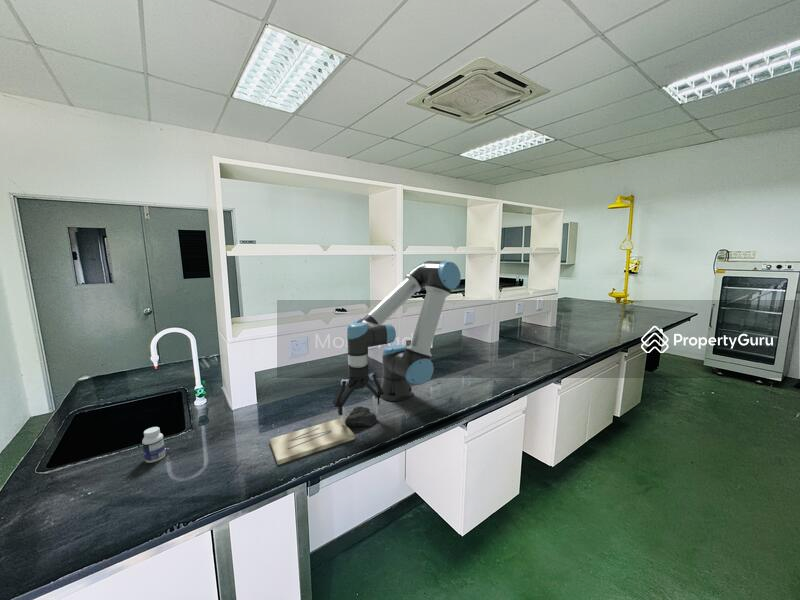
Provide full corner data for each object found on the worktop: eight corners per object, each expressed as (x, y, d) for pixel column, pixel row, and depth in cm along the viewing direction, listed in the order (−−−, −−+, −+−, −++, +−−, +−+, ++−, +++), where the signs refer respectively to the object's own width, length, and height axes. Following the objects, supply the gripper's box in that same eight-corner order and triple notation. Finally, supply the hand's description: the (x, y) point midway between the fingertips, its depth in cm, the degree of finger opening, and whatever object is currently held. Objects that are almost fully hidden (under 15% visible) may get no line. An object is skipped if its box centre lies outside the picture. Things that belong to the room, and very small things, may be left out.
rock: (378, 421, 126) (355, 411, 129) (380, 410, 124) (357, 400, 126) (366, 440, 117) (342, 429, 120) (368, 428, 115) (344, 418, 117)
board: (340, 421, 124) (340, 418, 124) (355, 438, 112) (354, 434, 112) (269, 442, 110) (269, 438, 110) (277, 464, 99) (277, 460, 98)
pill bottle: (143, 458, 103) (139, 430, 102) (164, 450, 107) (160, 423, 105) (145, 465, 99) (141, 436, 98) (166, 457, 103) (163, 429, 102)
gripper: (382, 356, 129) (383, 405, 132) (322, 367, 116) (324, 422, 119) (391, 361, 122) (392, 412, 125) (329, 373, 109) (331, 431, 112)
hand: (359, 417), depth 122 cm, fingers open, 13 cm apart
